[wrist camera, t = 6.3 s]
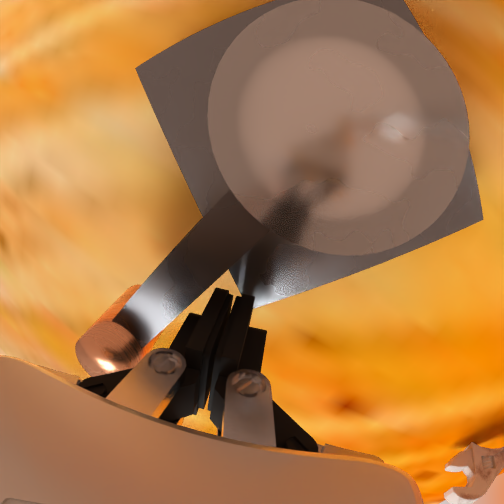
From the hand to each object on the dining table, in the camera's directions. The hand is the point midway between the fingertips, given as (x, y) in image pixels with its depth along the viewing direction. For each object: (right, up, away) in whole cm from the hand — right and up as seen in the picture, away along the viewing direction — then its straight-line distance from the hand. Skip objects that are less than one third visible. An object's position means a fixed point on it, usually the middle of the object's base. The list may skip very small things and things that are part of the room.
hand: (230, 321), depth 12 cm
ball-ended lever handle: (0, +5, -1) cm, 5 cm away
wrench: (+36, -21, +9) cm, 42 cm away
